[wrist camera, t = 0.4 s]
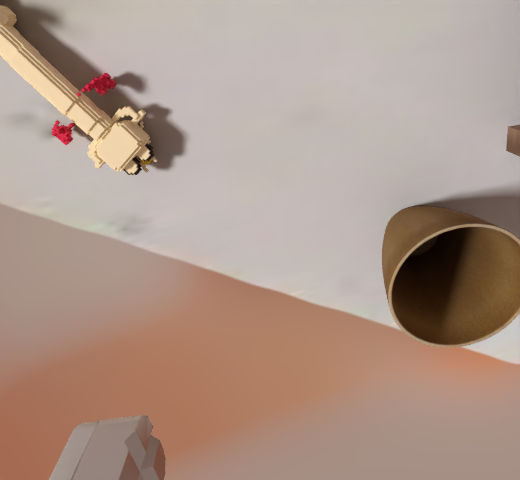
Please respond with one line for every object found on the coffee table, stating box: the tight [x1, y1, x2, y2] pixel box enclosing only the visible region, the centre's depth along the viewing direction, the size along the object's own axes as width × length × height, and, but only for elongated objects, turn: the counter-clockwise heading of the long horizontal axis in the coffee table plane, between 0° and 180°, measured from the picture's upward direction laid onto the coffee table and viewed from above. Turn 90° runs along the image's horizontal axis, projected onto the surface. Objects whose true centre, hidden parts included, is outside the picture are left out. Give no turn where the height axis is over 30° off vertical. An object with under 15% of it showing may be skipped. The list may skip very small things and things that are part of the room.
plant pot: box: [382, 206, 520, 347], centre depth 51 cm, size 15×15×16 cm
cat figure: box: [0, 5, 158, 175], centre depth 47 cm, size 10×9×25 cm
